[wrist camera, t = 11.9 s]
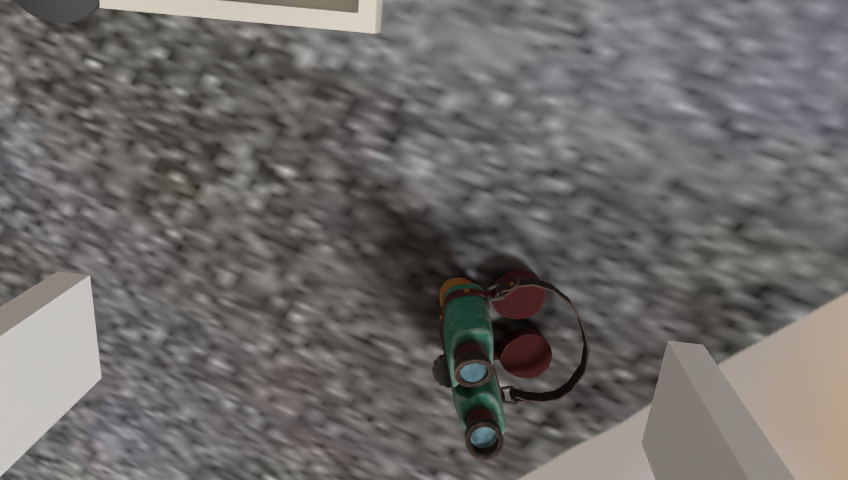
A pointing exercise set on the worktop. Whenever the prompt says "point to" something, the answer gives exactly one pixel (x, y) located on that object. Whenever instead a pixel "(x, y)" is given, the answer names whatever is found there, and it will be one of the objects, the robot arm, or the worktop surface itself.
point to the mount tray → (270, 11)
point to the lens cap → (60, 9)
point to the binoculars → (494, 353)
